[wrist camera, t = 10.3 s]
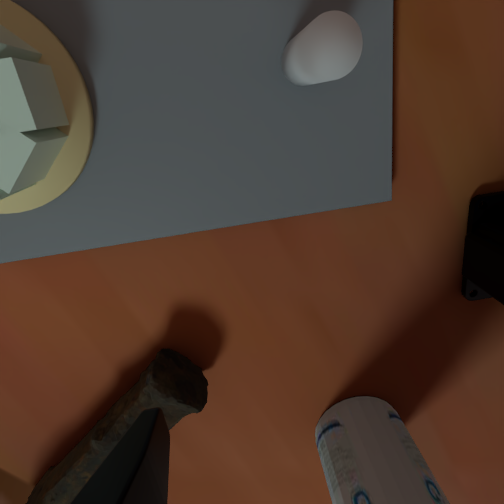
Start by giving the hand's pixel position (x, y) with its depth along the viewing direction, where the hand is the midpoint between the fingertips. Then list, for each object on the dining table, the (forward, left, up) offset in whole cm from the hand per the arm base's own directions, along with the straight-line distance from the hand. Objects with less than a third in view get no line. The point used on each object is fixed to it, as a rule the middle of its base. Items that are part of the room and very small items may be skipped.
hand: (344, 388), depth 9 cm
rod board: (+5, -8, -12) cm, 15 cm away
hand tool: (+13, +14, -12) cm, 23 cm away
